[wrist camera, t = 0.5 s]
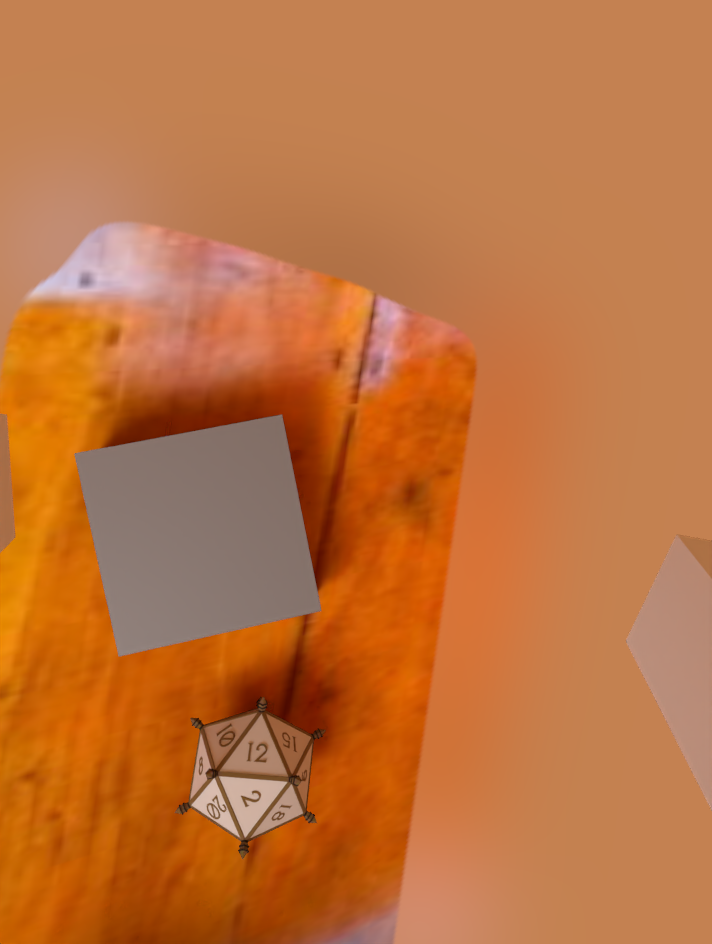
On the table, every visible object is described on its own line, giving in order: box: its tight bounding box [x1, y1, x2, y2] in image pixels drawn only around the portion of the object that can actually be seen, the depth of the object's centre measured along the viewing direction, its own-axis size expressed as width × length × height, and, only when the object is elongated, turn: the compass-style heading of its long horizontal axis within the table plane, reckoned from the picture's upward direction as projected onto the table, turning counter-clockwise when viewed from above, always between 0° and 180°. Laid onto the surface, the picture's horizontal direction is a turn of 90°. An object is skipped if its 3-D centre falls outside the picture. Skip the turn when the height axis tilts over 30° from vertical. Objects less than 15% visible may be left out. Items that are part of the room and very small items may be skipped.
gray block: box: [75, 415, 321, 656], centre depth 40 cm, size 12×12×5 cm
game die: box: [175, 697, 326, 859], centre depth 39 cm, size 9×8×10 cm
